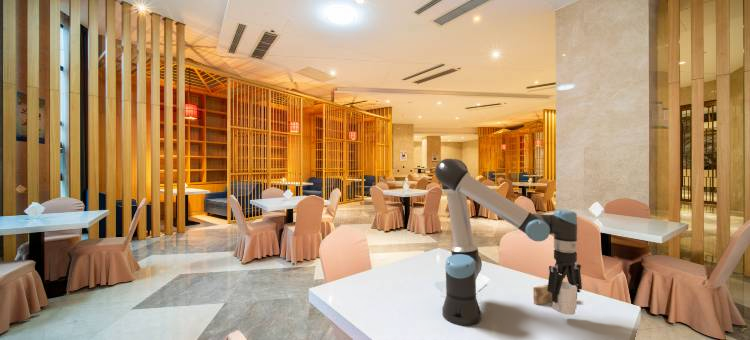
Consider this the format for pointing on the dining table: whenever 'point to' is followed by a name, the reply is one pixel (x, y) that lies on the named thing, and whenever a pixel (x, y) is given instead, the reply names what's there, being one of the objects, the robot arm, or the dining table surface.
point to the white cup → (568, 298)
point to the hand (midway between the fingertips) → (564, 308)
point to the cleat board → (542, 295)
